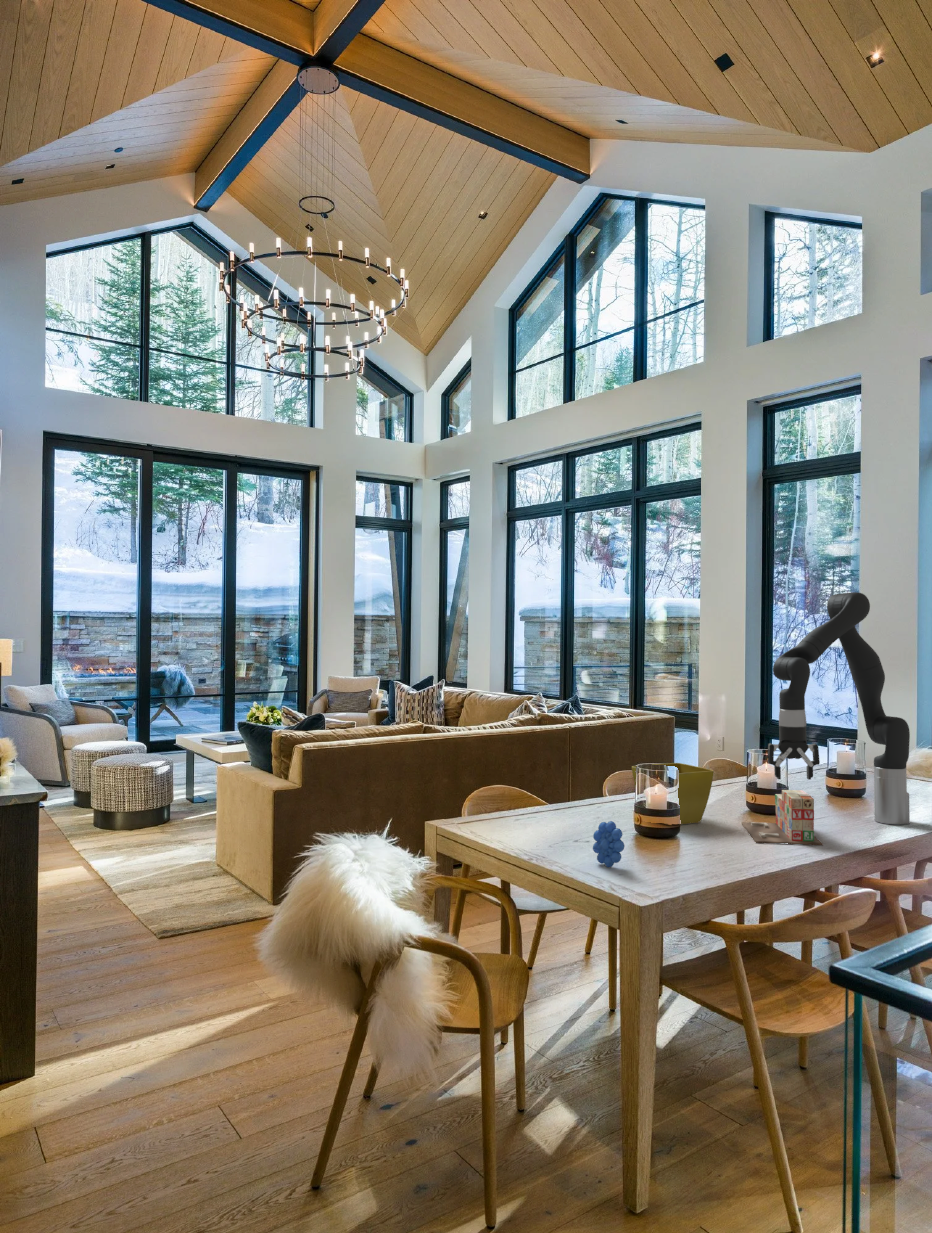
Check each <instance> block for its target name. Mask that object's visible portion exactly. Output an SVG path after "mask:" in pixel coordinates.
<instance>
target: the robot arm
mask: <svg viewBox="0 0 932 1233" xmlns="http://www.w3.org/2000/svg"><path fill="white" fill-rule="evenodd" d="M870 608H871V604H870V601H869V598H868V597H867V595H866V594H865V593H862V592H857V591H856V592H855V591H854V592H843V593H835V594H833V595H830V596H829V598H828V600H827V604H826V610H827V613H828V617H829V620H827V621H825V622H824V623H823V624H820V625H819V626H818V627H816V628H814V629H813V630H811V631H810V632H808V633H807V634H806V635H805V636H804V637H803V638H802V639H801V641H800V642H799V643H798V644H797V645H795V646H794V647H791V649H789V650H787V651H786V652H784V653H782V654H781V655H780V656H779V657H777V659H776V660H775V661H774V663H773V666H772V674H774V677H775V678H776V679H778V680H780V681H787V682H789V681H790V682H789V687H788V688H784V689H781V690H780V692H779V712H778V713H779V714H778V730H779V731H778V733H779V734H778V736H779V737H778V738H779V741H778V744H776V743H775V744H774V743H767V763H768V764H769V765H772V766H773V767H774V777H775V778H776V779H777V780H781V779H782V776H781V775H782V772H781V764H782V763H783V762H784V761H785V760H786V759H789V760H792V759H795V760H799V759H802V760H803V762H804V763H805V764H806V779H807V780H812V779H813V777H814V767H815V766H817V765H818V766H819V765H820V764H821V763H820V762H821V760H820V753H819V752H820V750H819V745H818V744H816V743H812V744H808V740H807V722H808V721H807V716H806V715H807V714H806V705H805V704H806V701H805V697H806V692H807V688H808V683H809V680H810V676H811V667H810V664H813V663H815V662H817V660H819V658H820V657H821V656H822V654H824V653H825V652H826V651H827V650H828V649H829V647H831V646H832V644H834V643H835V642H836V641H837V640H839V642H840V645H841V647H842V651H843V652H844V653H843V654H844V656H845V659H846V662H847V665H848V668H849V671H850V675H851V677H852V681H853V682H854V685H855V688H856V691H857V695H858V699H859V702H860V705H861V709H862V714H863V718H864V719H863V720H864V724H865V729H866V732H867V734H868V737H869V738H870V740H871V741H872V742H873V743H874V744H875V743H876V744H878V745H883V746H884V748H885V749H884V752H883V753H882V754H881V755H877V756H875V757H874V758H873V792H874V793H873V796H874V798H873V799H874V800H873V801H874V804H873V805H874V806H873V808H874V812H873V816H874V822H877V823H882V824H887V825H908V824H910V823H911V822H910V821H911V820H910V819H911V818H910V816H911V814H910V793H909V792H908V791H907V790H908V788H907V787H908V786H907V785H908V783H907V780H908V778H907V763H908V760H909V757H910V740H911V736H910V735H911V733H910V732H911V731H910V727H909V726H910V725H909V724H908V721H906V720H905V719H904V718H902V717H897V716H890V715H887V714H886V713H885V711H884V708H883V703H882V700H881V698H882V697H881V696H882V693H883V689H884V685H885V682H886V674H885V671H884V668H883V665H882V661H881V658H880V657H879V655H878V653H877V652H876V650H874V649H873V648H872V647H871V645H870V644H869V643H868V642H867V641H866V640H865V639H864V638H863V637H862V636H861V635H860V633H859V631H857V629H856V625H858V624H859V623H860V622H863V621H864V620H865V619H866V618H867V616H868V615H869V613H870V611H871V610H870ZM808 749H809V751H811V752H812V760H810V758H809V757H808V756H807V754H806V752H807V751H808ZM777 750H779V752H780V753H779V755H778V756H777V758H776V759H775V760H774V758H775V755H774V754H775V752H777Z"/></svg>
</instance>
